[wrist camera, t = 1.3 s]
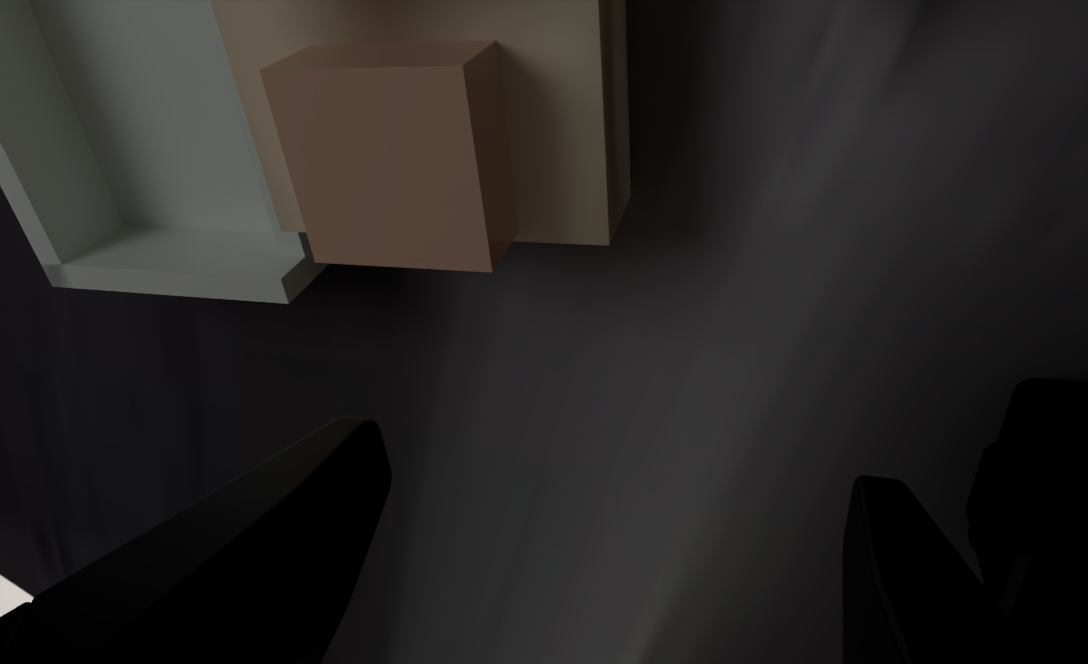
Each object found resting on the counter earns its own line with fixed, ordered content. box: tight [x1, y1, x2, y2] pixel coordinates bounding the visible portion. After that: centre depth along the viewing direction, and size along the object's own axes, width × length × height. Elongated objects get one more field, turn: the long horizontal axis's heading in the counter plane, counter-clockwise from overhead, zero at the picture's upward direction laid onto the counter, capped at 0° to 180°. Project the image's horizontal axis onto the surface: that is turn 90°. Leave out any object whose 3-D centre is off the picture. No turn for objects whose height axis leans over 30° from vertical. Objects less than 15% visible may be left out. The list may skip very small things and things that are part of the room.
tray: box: [0, 0, 330, 304], centre depth 19 cm, size 8×15×4 cm, turn 5°
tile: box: [259, 40, 518, 272], centre depth 17 cm, size 4×4×2 cm
